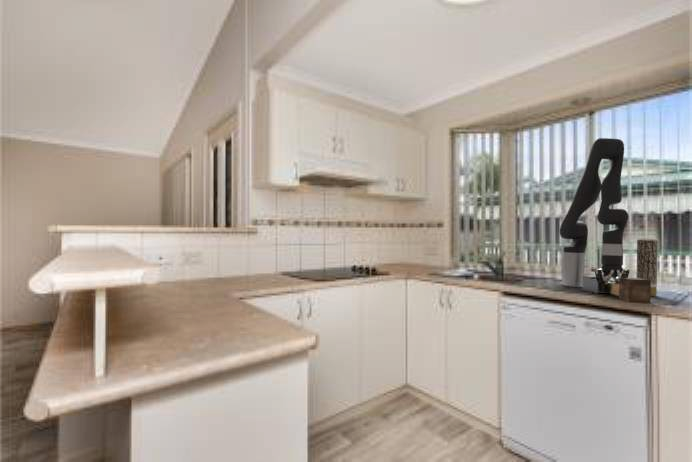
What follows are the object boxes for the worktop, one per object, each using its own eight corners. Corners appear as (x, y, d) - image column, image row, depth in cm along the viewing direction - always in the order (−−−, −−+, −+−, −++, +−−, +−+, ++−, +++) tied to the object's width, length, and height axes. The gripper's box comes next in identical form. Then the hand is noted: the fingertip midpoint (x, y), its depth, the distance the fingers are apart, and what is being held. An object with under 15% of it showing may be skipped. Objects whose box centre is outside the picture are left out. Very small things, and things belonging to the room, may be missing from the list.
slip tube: (588, 288, 160) (588, 278, 160) (596, 288, 160) (596, 278, 160) (620, 295, 141) (620, 285, 141) (630, 296, 141) (630, 285, 141)
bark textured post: (660, 297, 146) (661, 239, 146) (642, 296, 148) (643, 239, 148) (649, 294, 153) (650, 239, 153) (632, 293, 154) (633, 238, 154)
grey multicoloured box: (582, 289, 161) (582, 275, 161) (598, 290, 161) (598, 275, 161) (597, 293, 151) (597, 278, 151) (614, 294, 151) (614, 278, 151)
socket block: (619, 299, 139) (619, 277, 139) (639, 299, 139) (639, 278, 139) (629, 302, 134) (629, 279, 134) (650, 302, 134) (650, 279, 134)
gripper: (621, 253, 152) (620, 291, 152) (589, 253, 152) (588, 291, 152) (635, 255, 145) (635, 294, 145) (602, 254, 145) (601, 294, 145)
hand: (611, 292), depth 148 cm, fingers open, 5 cm apart
